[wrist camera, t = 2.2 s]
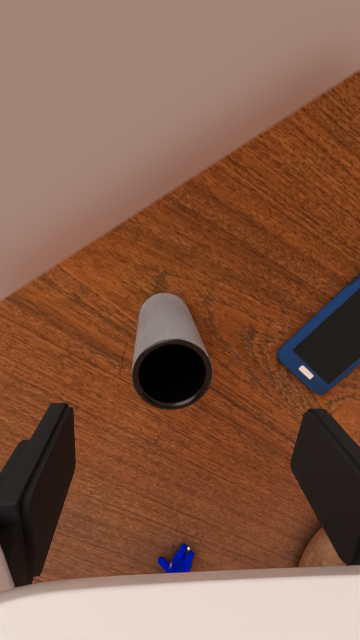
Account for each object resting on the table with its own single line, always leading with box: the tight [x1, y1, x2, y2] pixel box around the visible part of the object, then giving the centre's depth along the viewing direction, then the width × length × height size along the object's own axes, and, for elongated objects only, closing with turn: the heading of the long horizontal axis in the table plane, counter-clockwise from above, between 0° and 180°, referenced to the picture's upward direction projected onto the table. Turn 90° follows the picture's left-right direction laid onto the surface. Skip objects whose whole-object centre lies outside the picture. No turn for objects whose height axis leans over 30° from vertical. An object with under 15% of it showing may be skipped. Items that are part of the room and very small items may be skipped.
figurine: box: [158, 544, 195, 573], centre depth 34 cm, size 5×8×5 cm, turn 163°
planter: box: [132, 293, 213, 410], centre depth 20 cm, size 4×4×10 cm
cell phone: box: [277, 274, 360, 395], centre depth 27 cm, size 7×14×1 cm, turn 137°
